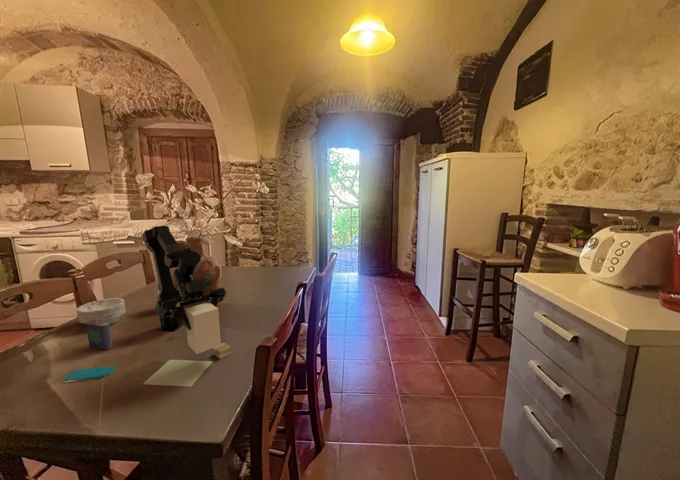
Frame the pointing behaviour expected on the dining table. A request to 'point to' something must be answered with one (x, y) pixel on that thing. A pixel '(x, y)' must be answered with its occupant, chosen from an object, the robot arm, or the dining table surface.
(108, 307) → the paper bowls
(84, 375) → the sponge
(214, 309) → the upright cream box
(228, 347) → the block
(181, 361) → the mat
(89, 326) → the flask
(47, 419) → the dining table surface
